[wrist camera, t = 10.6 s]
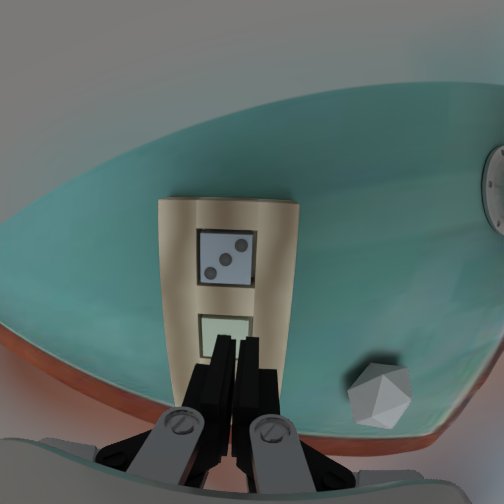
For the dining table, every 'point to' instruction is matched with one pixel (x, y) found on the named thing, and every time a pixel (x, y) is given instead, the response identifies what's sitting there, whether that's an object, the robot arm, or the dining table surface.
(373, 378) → the die
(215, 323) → the button one
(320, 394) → the dining table surface
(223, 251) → the button three
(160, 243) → the button board
